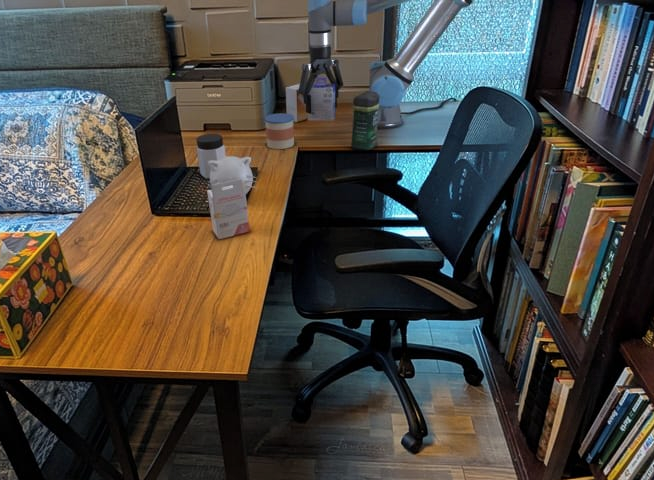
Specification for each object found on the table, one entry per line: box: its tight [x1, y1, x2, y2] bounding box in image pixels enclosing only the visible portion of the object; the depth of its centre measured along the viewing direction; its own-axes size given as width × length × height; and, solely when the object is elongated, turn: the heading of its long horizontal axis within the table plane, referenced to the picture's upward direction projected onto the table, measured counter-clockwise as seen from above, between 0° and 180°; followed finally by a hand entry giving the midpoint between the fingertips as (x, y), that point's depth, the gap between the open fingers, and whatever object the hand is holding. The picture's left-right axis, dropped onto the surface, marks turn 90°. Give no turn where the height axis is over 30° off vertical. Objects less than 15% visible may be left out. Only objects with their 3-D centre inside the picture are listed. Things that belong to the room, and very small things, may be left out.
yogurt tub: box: [264, 112, 295, 150], centre depth 180 cm, size 10×10×10 cm
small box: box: [285, 83, 308, 123], centre depth 204 cm, size 8×6×13 cm
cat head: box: [206, 155, 260, 196], centre depth 143 cm, size 15×13×12 cm
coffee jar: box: [351, 90, 380, 151], centre depth 171 cm, size 10×8×19 cm
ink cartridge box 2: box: [307, 77, 336, 122], centre depth 183 cm, size 10×6×14 cm, turn 78°
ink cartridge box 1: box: [206, 179, 250, 240], centre depth 124 cm, size 9×5×15 cm, turn 114°
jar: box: [195, 133, 227, 180], centre depth 158 cm, size 9×8×12 cm
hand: (321, 109), depth 185 cm, fingers closed on ink cartridge box 2, 10 cm apart
